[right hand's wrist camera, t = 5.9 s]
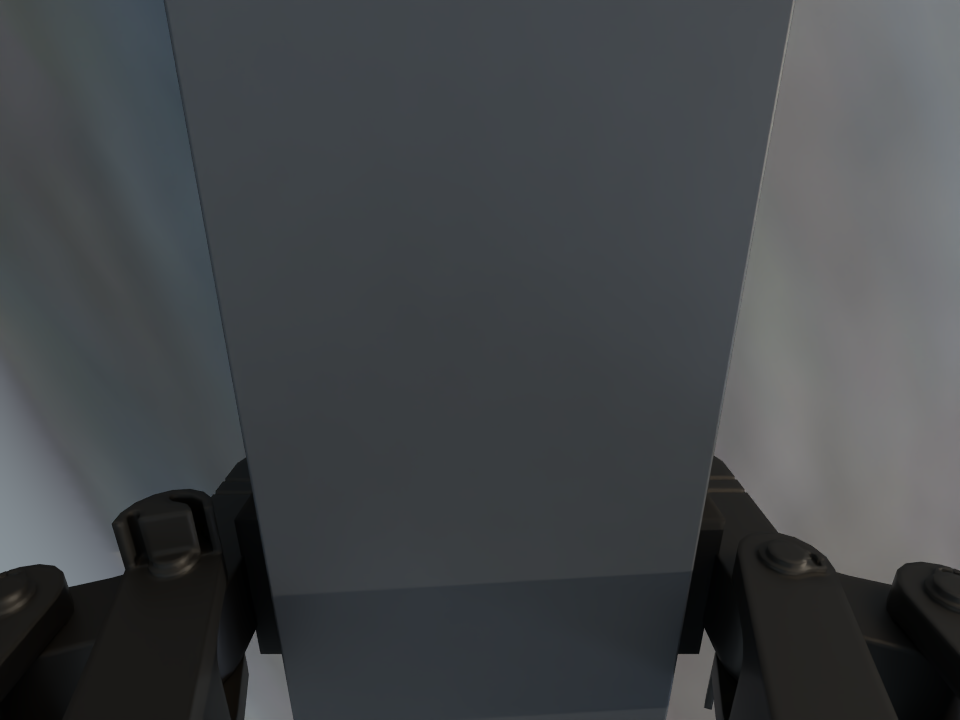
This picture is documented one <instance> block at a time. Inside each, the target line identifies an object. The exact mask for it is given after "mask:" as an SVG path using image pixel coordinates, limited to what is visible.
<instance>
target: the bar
mask: <svg viewBox="0 0 960 720" xmlns="http://www.w3.org/2000/svg"><path fill="white" fill-rule="evenodd" d="M164 4H165V10H166V15H167V21H168V26H169V32H170V37H171V43H172V49H173V54H174V60H175V65H176V71H177V76H178V82H179V87H180V93H181V98H182V104H183V109H184V115H185V121H186V126H187V132H188V137H189V143H190V148H191V154H192V159H193V165H194V170H195V176H196V181H197V187H198V193H199V198H200V204H201V209H202V215H203V220H204V226H205V231H206V237H207V242H208V248H209V253H210V259H211V265H212V270H213V276H214V281H215V287H216V292H217V298H218V303H219V309H220V314H221V320H222V325H223V331H224V336H225V342H226V348H227V353H228V359H229V364H230V370H231V375H232V381H233V386H234V392H235V397H236V403H237V408H238V414H239V420H240V425H241V431H242V436H243V442H244V447H245V453H246V458H247V464H248V469H249V475H250V480H251V486H252V492H253V497H254V503H255V508H256V514H257V519H258V525H259V530H260V536H261V541H262V547H263V552H264V558H265V564H266V569H267V575H268V580H269V586H270V591H271V597H272V602H273V608H274V613H275V619H276V624H277V630H278V636H279V641H280V647H281V652H282V658H283V663H284V669H285V674H286V680H287V685H288V691H289V696H290V702H291V708H292V713H293V719H294V720H666V716H667V711H668V705H669V700H670V694H671V689H672V683H673V677H674V672H675V666H676V661H677V655H678V650H679V644H680V639H681V633H682V627H683V622H684V616H685V611H686V605H687V600H688V594H689V589H690V583H691V577H692V572H693V566H694V561H695V555H696V550H697V544H698V539H699V533H700V528H701V522H702V516H703V511H704V505H705V500H706V494H707V489H708V483H709V478H710V472H711V466H712V461H713V455H714V450H715V444H716V439H717V433H718V428H719V422H720V416H721V411H722V405H723V400H724V394H725V389H726V383H727V378H728V372H729V367H730V361H731V355H732V350H733V344H734V339H735V333H736V328H737V322H738V317H739V311H740V305H741V300H742V294H743V289H744V283H745V278H746V272H747V267H748V261H749V255H750V250H751V244H752V239H753V233H754V228H755V222H756V217H757V211H758V206H759V200H760V194H761V189H762V183H763V178H764V172H765V167H766V161H767V156H768V150H769V144H770V139H771V133H772V128H773V122H774V117H775V111H776V106H777V100H778V94H779V89H780V83H781V78H782V72H783V67H784V61H785V56H786V50H787V45H788V39H789V33H790V28H791V22H792V17H793V11H794V6H795V0H164Z"/></svg>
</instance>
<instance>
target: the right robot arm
mask: <svg viewBox="0 0 960 720" xmlns="http://www.w3.org/2000/svg"><path fill="white" fill-rule="evenodd" d="M225 479H226V480H225V482H222V484H221V485H220V486H219V488H218V489H217V490H216V494H213V495H212V497H210V496H208V495H207V494H206V493H205V492H202V491H197V490H192V489H182V490H171V491H167V492H163V493H159V494H155V495H152V496H150V497H148V498H145V499H143V500H141V501H138V502H136V503H134V504H133V505H132V506H130V507H129V508H127V509H126V510H124V511H123V512H121V513H120V514H119V516H118V517H117V518H116V519H115V521H114V522H113V523H112V527H113V530H114V533H115V537H116V540H117V543H118V547H119V550H120V553H121V557H122V560H123V563H124V567H125V572H124V574H123V575H120V576H117V577H113V578H109V579H105V580H100V581H95V582H91V583H86V584H81V585H77V586H72V587H68V585H67V582H66V579H65V576H64V573H63V572H62V571H61V570H59V569H58V568H57V567H55V566H51V565H42V564H37V565H31V566H24V567H19V568H16V569H12V570H9V571H7V572H6V571H5V572H3V573H0V720H244V716H245V706H246V697H247V687H248V677H249V673H248V667H247V661H246V656H245V651H246V649H247V647H248V645H249V643H250V641H251V638H252V636H253V634H254V632H255V630H256V633H257V638H258V643H259V648H260V653H261V654H282V652H281V647H280V641H279V636H278V630H277V624H276V619H275V613H274V608H273V602H272V597H271V591H270V586H269V580H268V575H267V569H266V564H265V558H264V552H263V547H262V541H261V536H260V530H259V525H258V519H257V514H256V508H255V503H254V497H253V492H252V486H251V480H250V475H249V469H248V464H247V458H244V459H243V460H241V461H240V462H238V463H237V464H236V466H235V467H234V468H233V469H232V471H231V472H230V473H229V475H228V476H227V477H226V478H225ZM704 628H705V630H706V632H707V634H708V636H709V639H710V641H711V643H712V645H713V647H714V649H715V651H716V652H715V656H714V661H713V666H712V670H711V675H710V680H709V684H708V689H707V694H706V699H705V706H704V708H707V709H711V710H712V705H713V701H714V705H715V715H716V720H960V571H959V570H956V569H952V568H950V567H947V566H943V565H939V564H932V563H926V562H914V563H906V564H904V565H903V566H902V567H900V568H899V569H898V570H897V572H896V575H895V578H894V580H893V583H892V585H889V584H885V583H880V582H876V581H871V580H866V579H862V578H857V577H853V576H848V575H844V574H841V573H837V572H836V571H835V569H834V567H833V566H832V565H831V563H830V562H829V560H828V559H827V557H826V556H824V555H823V554H822V553H820V552H819V551H818V550H817V549H815V548H814V547H813V546H811V545H809V544H807V543H805V542H803V541H801V540H799V539H797V538H795V537H791V536H788V535H784V534H781V533H778V532H777V531H776V529H775V528H774V527H773V525H772V524H771V523H770V522H769V520H768V519H767V518H766V516H765V515H764V514H763V513H762V511H761V510H760V509H759V507H758V506H757V505H756V504H755V502H754V501H753V500H752V498H751V497H750V496H749V495H748V493H745V492H744V488H743V487H742V486H741V484H740V483H739V482H738V480H735V478H734V475H733V474H732V473H731V471H730V470H729V469H728V468H727V466H726V465H725V464H724V463H723V461H721V460H720V459H718V458H717V457H715V456H714V455H713V461H712V466H711V472H710V478H709V483H708V489H707V494H706V500H705V505H704V511H703V516H702V522H701V528H700V533H699V539H698V544H697V550H696V555H695V561H694V566H693V572H692V577H691V583H690V589H689V594H688V600H687V605H686V611H685V616H684V622H683V627H682V633H681V639H680V644H679V650H678V654H699V651H700V646H701V641H702V636H703V631H704Z"/></svg>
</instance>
